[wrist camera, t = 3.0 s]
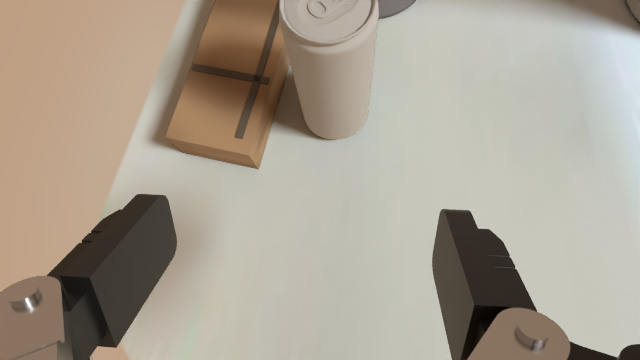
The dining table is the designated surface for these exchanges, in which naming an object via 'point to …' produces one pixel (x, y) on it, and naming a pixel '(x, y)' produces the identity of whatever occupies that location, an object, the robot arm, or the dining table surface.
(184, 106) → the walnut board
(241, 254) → the dining table surface
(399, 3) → the end pad
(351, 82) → the beverage can
